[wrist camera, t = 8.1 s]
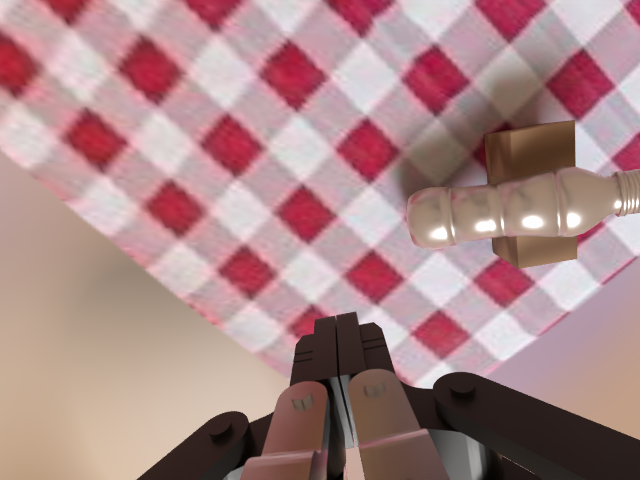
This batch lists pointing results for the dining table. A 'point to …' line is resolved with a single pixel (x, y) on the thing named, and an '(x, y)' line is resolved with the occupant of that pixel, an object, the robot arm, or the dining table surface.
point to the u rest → (525, 159)
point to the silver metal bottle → (521, 206)
